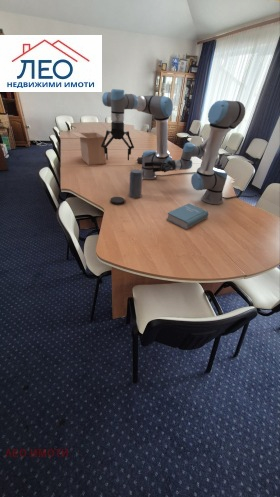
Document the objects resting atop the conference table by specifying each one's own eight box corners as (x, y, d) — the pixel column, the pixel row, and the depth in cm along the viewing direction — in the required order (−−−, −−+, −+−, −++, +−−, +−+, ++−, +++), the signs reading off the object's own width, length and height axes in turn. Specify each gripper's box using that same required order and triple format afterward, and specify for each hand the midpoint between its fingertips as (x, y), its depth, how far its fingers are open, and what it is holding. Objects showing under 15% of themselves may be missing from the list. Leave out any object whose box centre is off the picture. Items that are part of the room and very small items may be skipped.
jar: (129, 198, 166) (130, 172, 154) (128, 193, 173) (129, 168, 162) (141, 198, 166) (143, 173, 155) (140, 193, 174) (142, 169, 163)
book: (187, 209, 155) (188, 203, 152) (207, 218, 146) (209, 211, 143) (166, 219, 142) (167, 212, 139) (187, 230, 133) (188, 222, 130)
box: (116, 165, 229) (116, 136, 213) (83, 168, 214) (80, 137, 198) (102, 154, 259) (101, 128, 243) (71, 156, 244) (68, 129, 228)
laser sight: (156, 166, 235) (157, 156, 229) (136, 164, 237) (136, 154, 231) (157, 164, 242) (158, 154, 236) (138, 161, 245) (138, 152, 239)
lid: (127, 201, 161) (127, 198, 160) (120, 206, 154) (120, 203, 153) (115, 197, 164) (115, 195, 163) (107, 202, 157) (107, 200, 156)
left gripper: (95, 121, 125) (97, 160, 137) (139, 123, 128) (137, 161, 140) (96, 119, 131) (98, 157, 143) (138, 121, 134) (136, 158, 146)
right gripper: (181, 175, 162) (156, 177, 154) (164, 165, 180) (141, 167, 172) (183, 164, 158) (157, 166, 150) (165, 156, 176) (141, 157, 168)
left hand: (117, 159), depth 142 cm, fingers open, 13 cm apart
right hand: (148, 167), depth 161 cm, fingers open, 13 cm apart
